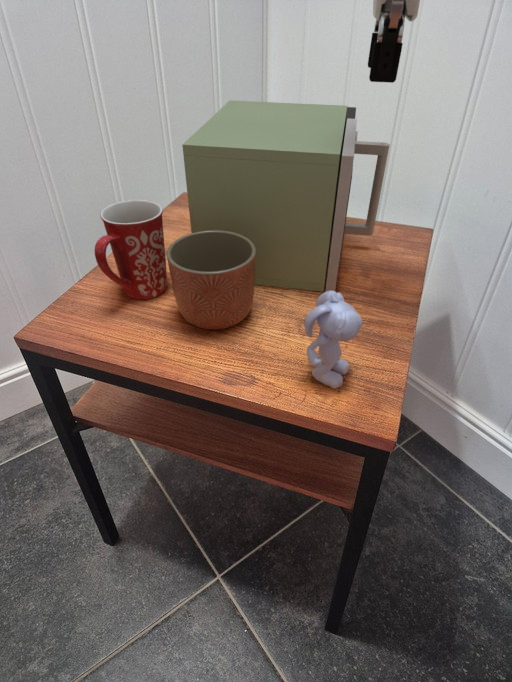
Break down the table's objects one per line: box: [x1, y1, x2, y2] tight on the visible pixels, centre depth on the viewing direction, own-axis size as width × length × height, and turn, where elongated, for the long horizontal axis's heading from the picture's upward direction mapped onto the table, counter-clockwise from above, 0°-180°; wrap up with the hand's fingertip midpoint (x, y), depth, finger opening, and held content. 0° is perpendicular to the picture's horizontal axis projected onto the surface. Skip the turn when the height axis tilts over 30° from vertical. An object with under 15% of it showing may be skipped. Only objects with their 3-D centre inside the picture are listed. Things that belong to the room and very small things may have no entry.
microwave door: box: [324, 118, 391, 292], centre depth 72 cm, size 7×20×22 cm, turn 169°
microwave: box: [182, 100, 359, 293], centre depth 77 cm, size 24×28×22 cm
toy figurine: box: [304, 290, 363, 389], centre depth 54 cm, size 7×6×12 cm
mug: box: [94, 199, 168, 300], centre depth 68 cm, size 13×9×14 cm
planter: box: [166, 230, 256, 330], centre depth 64 cm, size 12×12×11 cm
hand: (380, 74), depth 58 cm, fingers open, 9 cm apart
